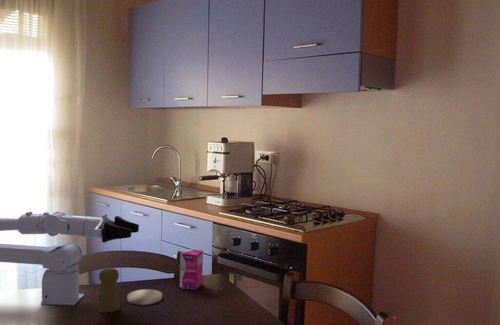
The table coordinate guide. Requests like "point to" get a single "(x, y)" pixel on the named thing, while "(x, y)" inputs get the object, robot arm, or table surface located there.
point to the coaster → (144, 297)
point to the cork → (108, 291)
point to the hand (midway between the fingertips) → (134, 230)
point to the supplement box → (191, 269)
